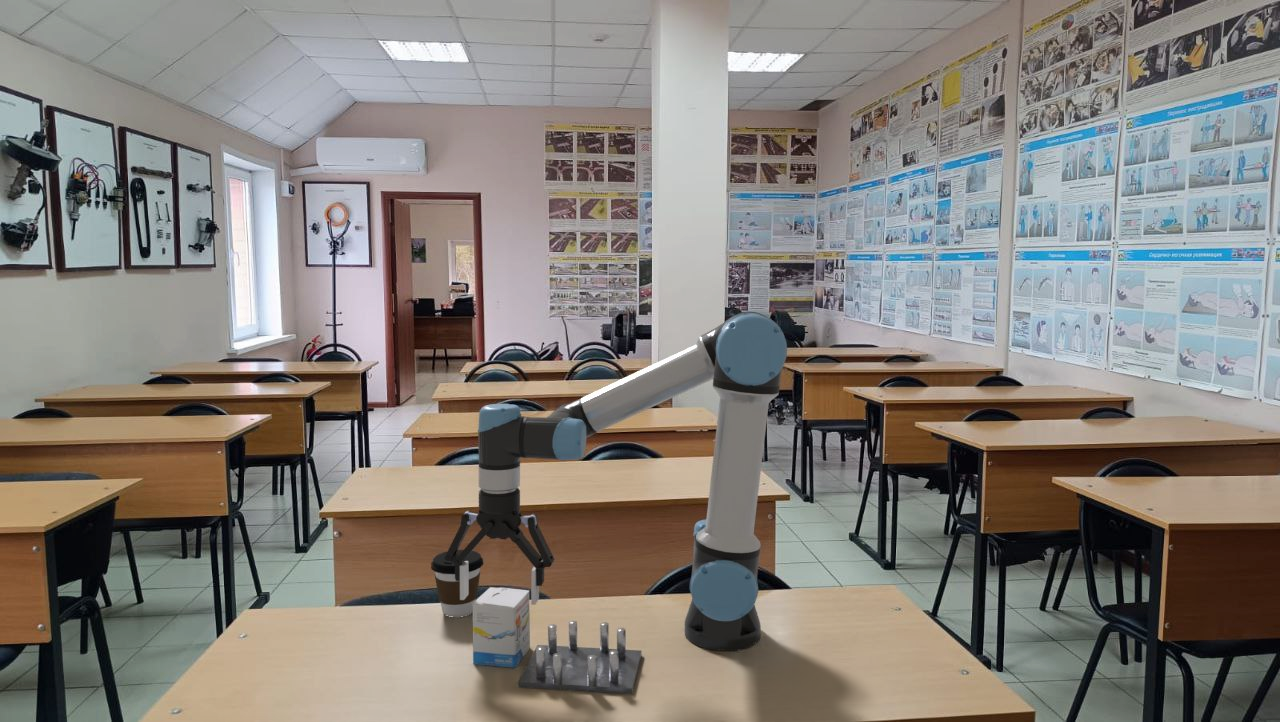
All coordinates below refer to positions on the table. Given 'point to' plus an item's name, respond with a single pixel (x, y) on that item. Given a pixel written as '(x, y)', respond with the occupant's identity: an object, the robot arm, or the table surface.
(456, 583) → the coffee cup
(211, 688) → the table surface
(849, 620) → the table surface
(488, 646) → the ink box
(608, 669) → the grey peg board
